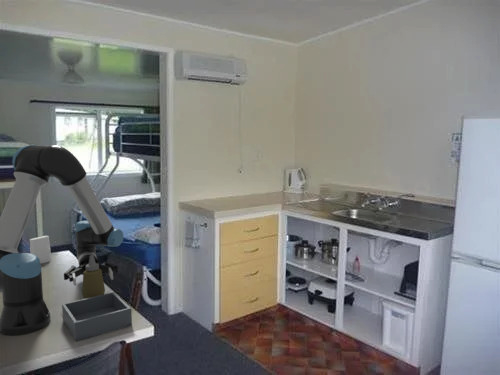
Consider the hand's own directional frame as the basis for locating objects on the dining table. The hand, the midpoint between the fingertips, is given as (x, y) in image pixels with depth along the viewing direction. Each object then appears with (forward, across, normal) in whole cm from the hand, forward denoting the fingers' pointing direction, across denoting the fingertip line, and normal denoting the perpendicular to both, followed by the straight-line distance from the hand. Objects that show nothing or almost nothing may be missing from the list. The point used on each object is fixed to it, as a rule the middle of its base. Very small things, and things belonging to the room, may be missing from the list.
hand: (93, 279), depth 152 cm
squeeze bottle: (-4, 0, -10) cm, 11 cm away
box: (+16, +1, -10) cm, 19 cm away
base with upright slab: (-70, +19, -10) cm, 73 cm away
